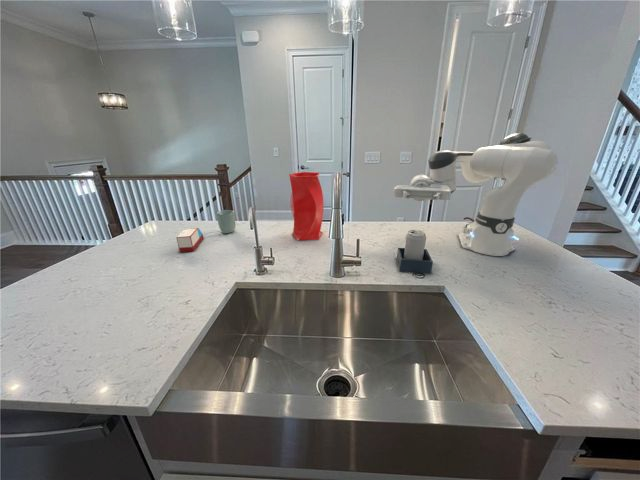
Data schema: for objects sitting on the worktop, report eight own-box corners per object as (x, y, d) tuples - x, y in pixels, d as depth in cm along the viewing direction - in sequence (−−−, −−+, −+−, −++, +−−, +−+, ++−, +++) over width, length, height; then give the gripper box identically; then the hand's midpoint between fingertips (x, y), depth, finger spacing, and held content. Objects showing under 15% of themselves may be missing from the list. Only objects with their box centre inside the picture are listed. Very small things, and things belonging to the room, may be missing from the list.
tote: (396, 258, 98) (397, 247, 96) (424, 260, 96) (426, 249, 94) (399, 271, 88) (401, 259, 86) (431, 273, 87) (433, 261, 85)
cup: (216, 234, 124) (213, 214, 120) (225, 228, 131) (221, 209, 127) (232, 235, 123) (228, 214, 119) (239, 229, 130) (236, 210, 126)
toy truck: (203, 237, 120) (200, 224, 117) (193, 251, 106) (190, 236, 103) (191, 238, 119) (188, 225, 117) (179, 252, 105) (175, 237, 103)
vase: (313, 228, 130) (312, 171, 119) (330, 236, 119) (330, 174, 108) (286, 234, 122) (282, 174, 112) (301, 244, 111) (298, 178, 100)
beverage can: (408, 258, 96) (412, 228, 92) (425, 263, 92) (430, 232, 87) (399, 263, 92) (403, 232, 88) (416, 270, 88) (421, 237, 83)
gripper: (394, 180, 106) (392, 186, 94) (449, 182, 100) (454, 189, 88) (393, 195, 109) (390, 203, 96) (446, 198, 102) (450, 207, 90)
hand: (421, 197), depth 92 cm, fingers open, 8 cm apart
